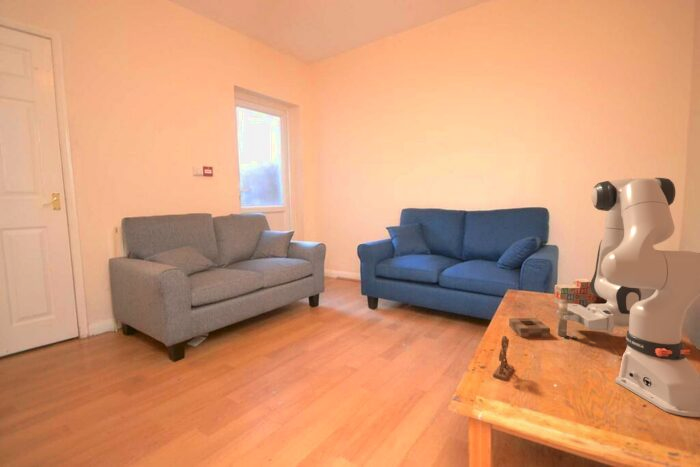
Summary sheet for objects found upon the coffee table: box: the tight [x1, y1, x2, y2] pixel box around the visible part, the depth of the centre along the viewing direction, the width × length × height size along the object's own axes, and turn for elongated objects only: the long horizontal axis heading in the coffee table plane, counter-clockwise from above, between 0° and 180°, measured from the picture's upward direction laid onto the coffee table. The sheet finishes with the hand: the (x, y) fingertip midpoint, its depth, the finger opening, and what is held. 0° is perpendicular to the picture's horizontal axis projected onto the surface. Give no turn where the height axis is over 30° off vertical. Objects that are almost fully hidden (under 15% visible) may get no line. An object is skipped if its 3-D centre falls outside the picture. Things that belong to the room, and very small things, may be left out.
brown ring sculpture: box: [492, 335, 515, 382], centre depth 104 cm, size 9×4×12 cm, turn 140°
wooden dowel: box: [557, 300, 568, 338], centre depth 130 cm, size 3×3×14 cm
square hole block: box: [508, 317, 551, 338], centre depth 135 cm, size 11×11×4 cm
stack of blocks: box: [553, 278, 593, 307], centre depth 166 cm, size 21×6×12 cm, turn 85°
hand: (560, 315), depth 130 cm, fingers closed on wooden dowel, 3 cm apart
